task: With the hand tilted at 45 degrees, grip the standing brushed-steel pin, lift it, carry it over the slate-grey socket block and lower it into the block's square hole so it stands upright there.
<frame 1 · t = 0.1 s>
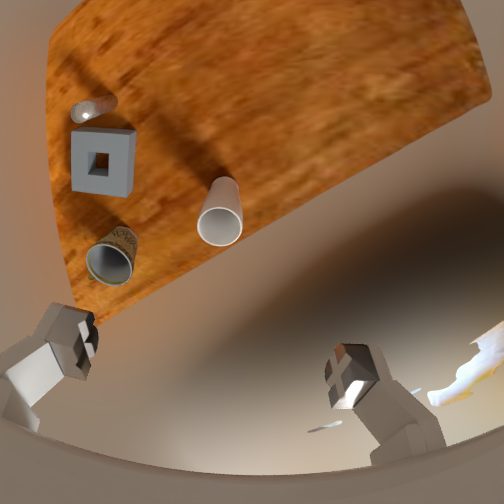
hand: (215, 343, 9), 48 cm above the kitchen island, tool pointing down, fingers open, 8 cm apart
steel pin: (110, 102, 46), on the kitchen island
white tapered cylinder: (225, 188, 57), on the kitchen island
ceramic cup: (120, 241, 63), on the kitchen island
socket block: (106, 157, 52), on the kitchen island
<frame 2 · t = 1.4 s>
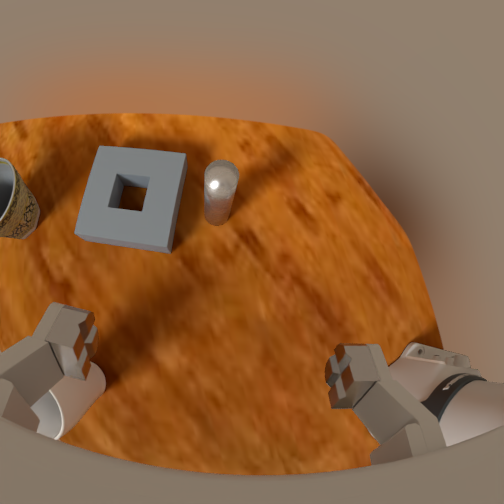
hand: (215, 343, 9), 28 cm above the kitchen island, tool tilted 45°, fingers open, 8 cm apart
steel pin: (216, 213, 40), on the kitchen island
white tapered cylinder: (89, 378, 33), on the kitchen island
ceramic cup: (21, 210, 36), on the kitchen island
socket block: (135, 202, 38), on the kitchen island
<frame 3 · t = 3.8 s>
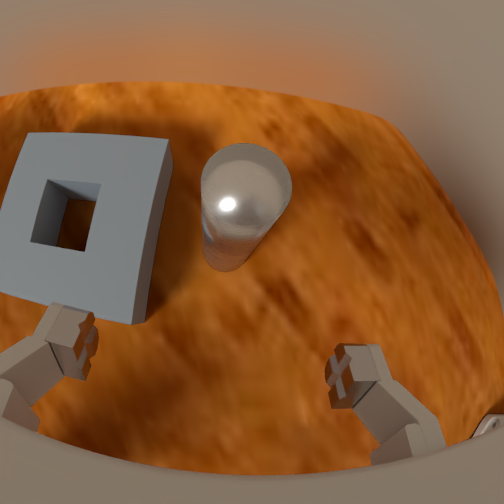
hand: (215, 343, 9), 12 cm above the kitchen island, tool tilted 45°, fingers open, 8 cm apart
steel pin: (225, 249, 22), on the kitchen island
socket block: (84, 228, 21), on the kitchen island
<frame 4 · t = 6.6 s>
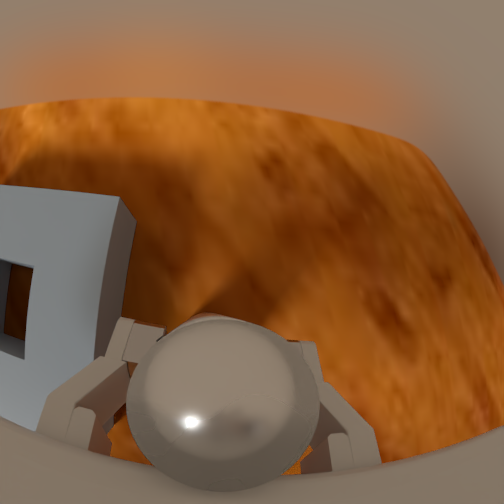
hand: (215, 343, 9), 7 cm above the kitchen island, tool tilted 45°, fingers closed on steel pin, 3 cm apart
steel pin: (208, 341, 16), on the kitchen island, touching gripper
socket block: (32, 306, 15), on the kitchen island
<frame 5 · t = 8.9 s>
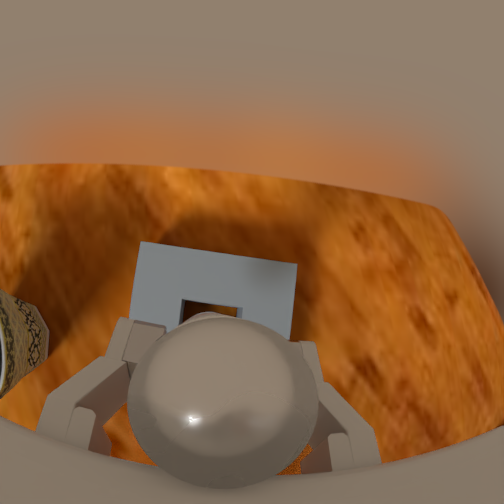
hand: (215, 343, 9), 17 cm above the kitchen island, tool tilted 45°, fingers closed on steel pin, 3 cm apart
steel pin: (208, 340, 16), point 10 cm above the kitchen island, touching gripper
ceramic cup: (18, 322, 23), on the kitchen island
socket block: (208, 330, 25), on the kitchen island
when the fingers open (8 cm above the kitchen island, at t = 11.7 s): steel pin drops 1 cm, resting in socket block.
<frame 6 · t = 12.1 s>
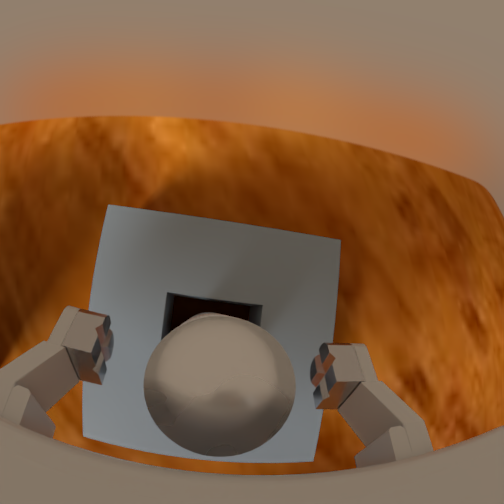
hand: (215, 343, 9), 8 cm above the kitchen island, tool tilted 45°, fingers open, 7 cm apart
steel pin: (208, 338, 17), resting in socket block
socket block: (207, 338, 17), on the kitchen island
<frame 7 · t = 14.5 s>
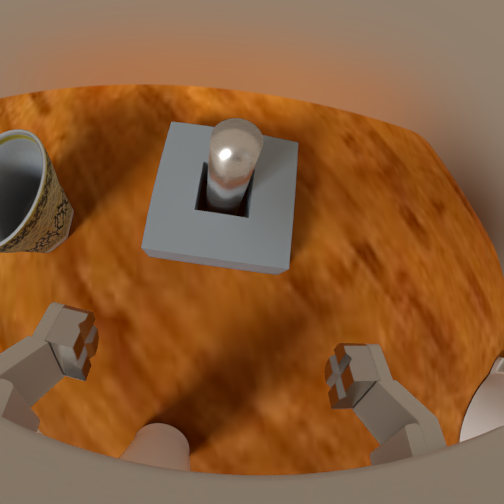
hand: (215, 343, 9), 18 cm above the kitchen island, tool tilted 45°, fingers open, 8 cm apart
steel pin: (222, 204, 29), resting in socket block
white tapered cylinder: (162, 443, 24), on the kitchen island
ceramic cup: (42, 210, 26), on the kitchen island
socket block: (222, 204, 29), on the kitchen island
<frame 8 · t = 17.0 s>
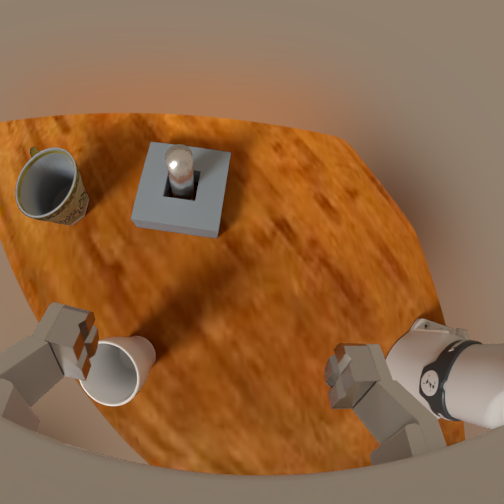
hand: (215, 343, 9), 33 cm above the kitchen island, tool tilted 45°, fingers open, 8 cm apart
steel pin: (183, 193, 45), resting in socket block
white tapered cylinder: (138, 353, 40), on the kitchen island
ceramic cup: (67, 198, 42), on the kitchen island
socket block: (183, 194, 45), on the kitchen island
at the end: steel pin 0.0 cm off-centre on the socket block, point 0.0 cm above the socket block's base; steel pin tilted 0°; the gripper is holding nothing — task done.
